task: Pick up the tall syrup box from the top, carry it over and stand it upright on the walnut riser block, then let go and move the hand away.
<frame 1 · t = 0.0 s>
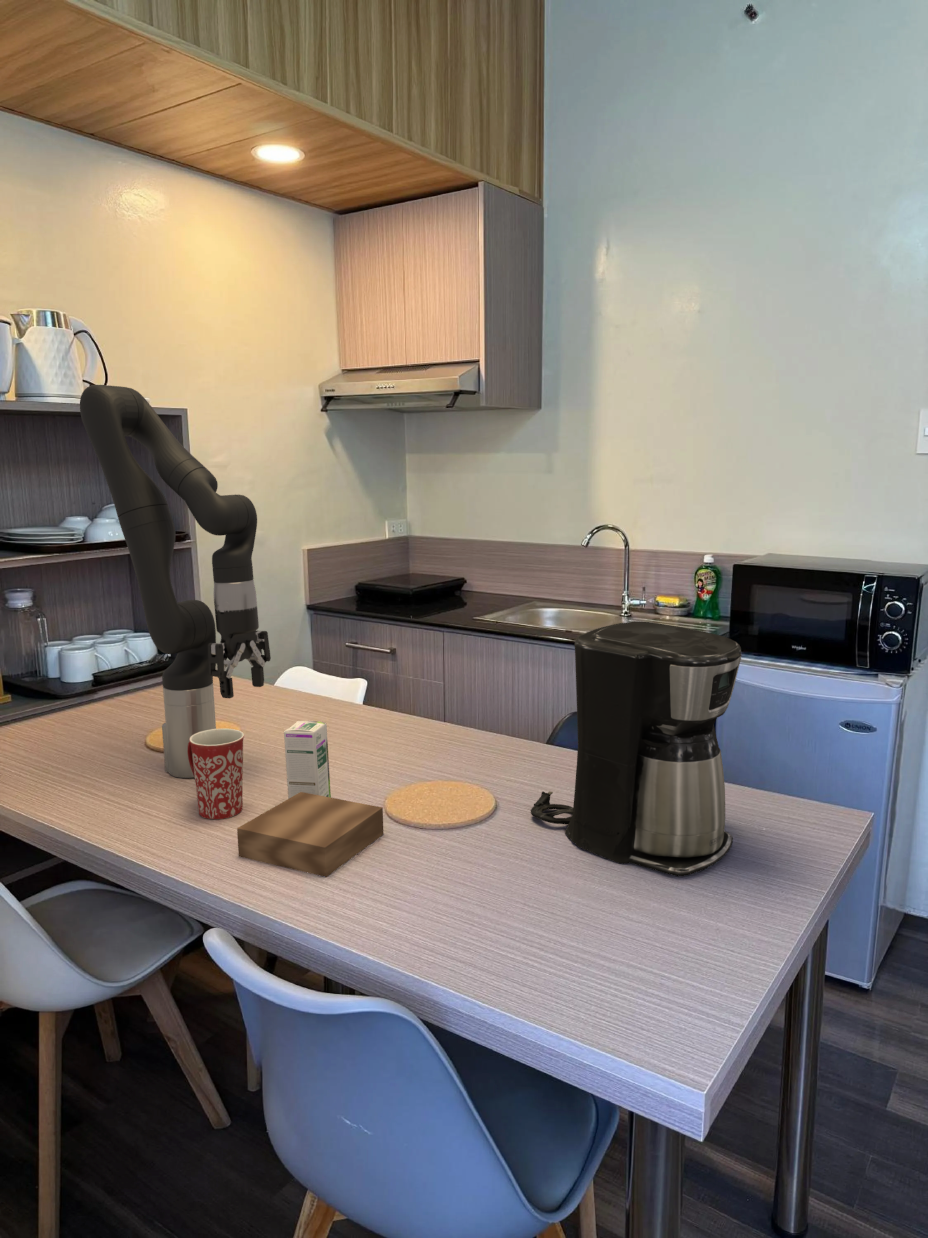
hand: (243, 692, 160), 17 cm above the table, tool pointing down, fingers open, 8 cm apart
coffee maker: (639, 833, 139), on the table
syrup box: (309, 806, 151), on the table
mug: (215, 809, 150), on the table
walnut riser: (313, 847, 135), on the table
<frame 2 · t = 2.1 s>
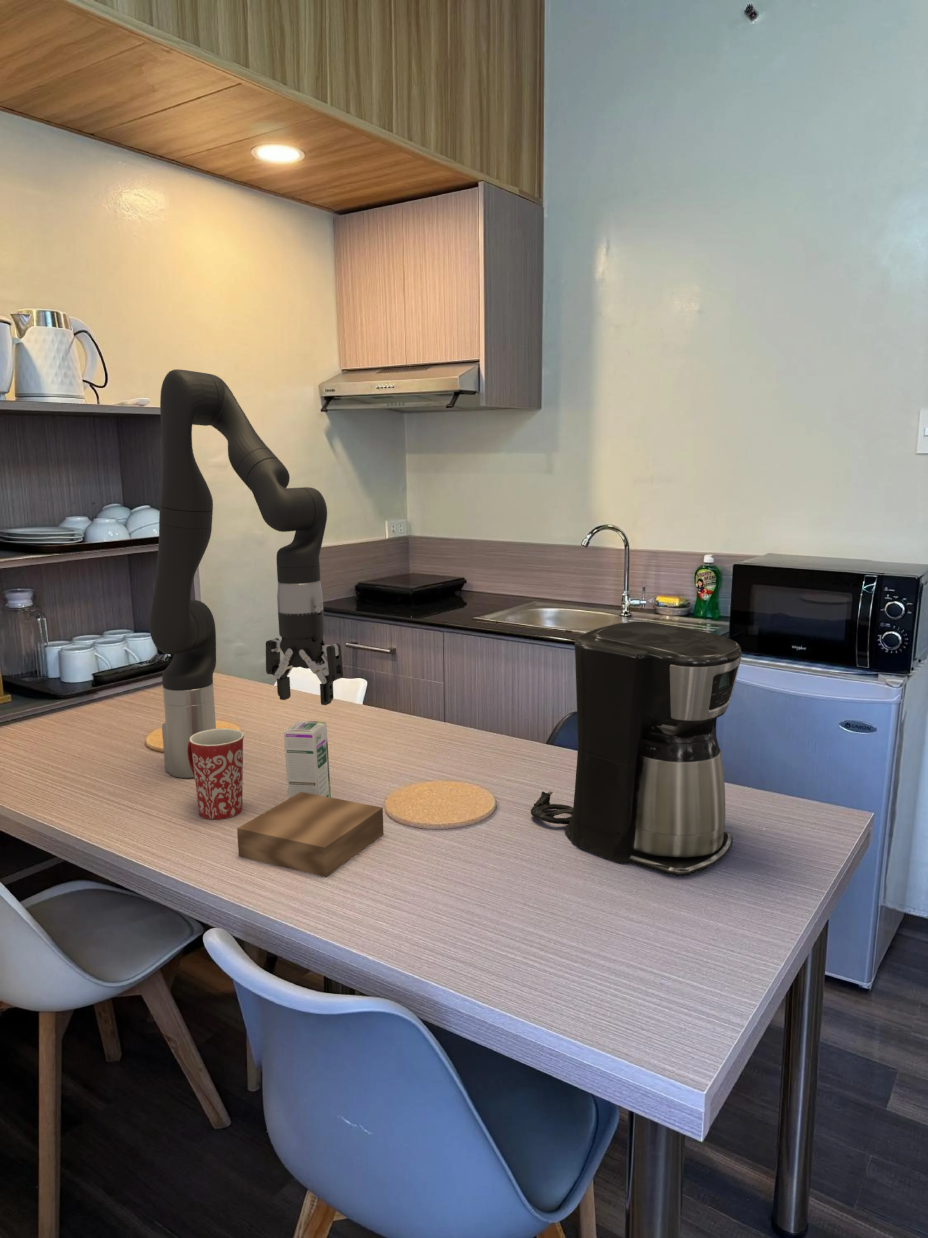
hand: (305, 701, 148), 19 cm above the table, tool pointing down, fingers open, 8 cm apart
nothing on the table moved.
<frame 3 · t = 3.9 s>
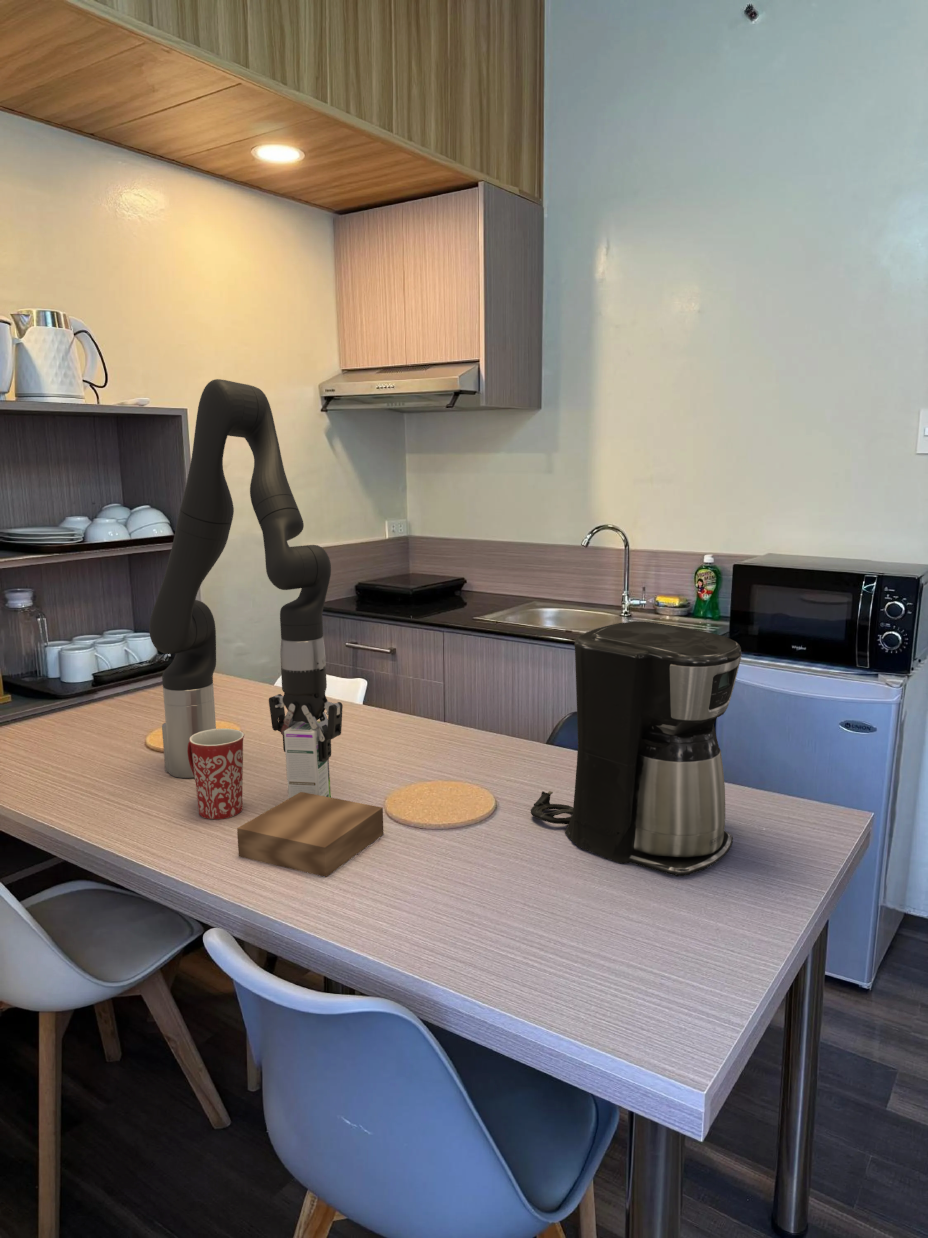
hand: (307, 757, 150), 9 cm above the table, tool pointing down, fingers closed on syrup box, 6 cm apart
syrup box: (309, 806, 151), on the table, touching gripper
everything else where it was.
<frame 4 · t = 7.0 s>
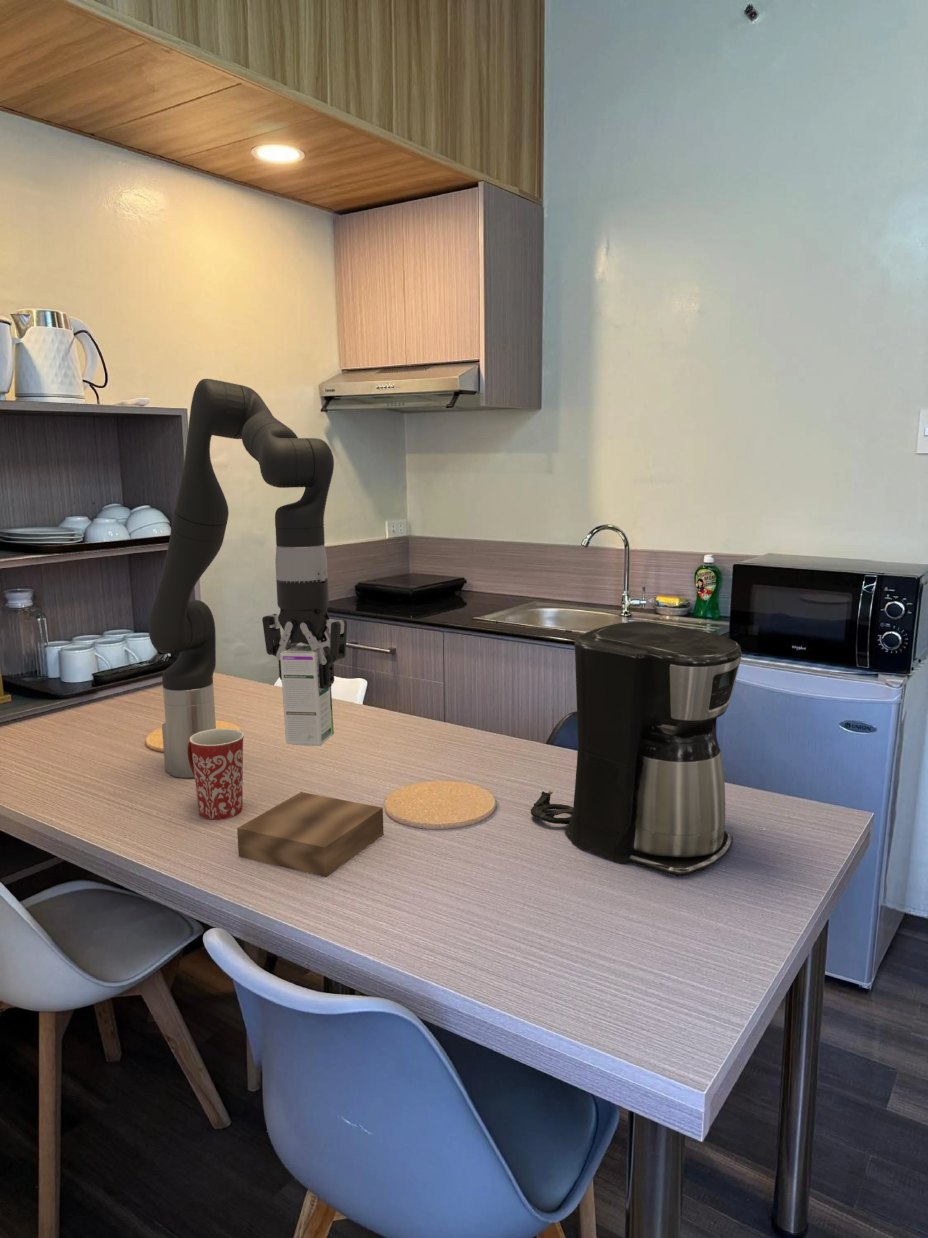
hand: (307, 684, 131), 26 cm above the table, tool pointing down, fingers closed on syrup box, 6 cm apart
syrup box: (309, 741, 132), point 17 cm above the table, touching gripper
everything else where it was.
when the fingers open (15 cm above the table, at t = 10.4 s): syrup box drops 2 cm, point 4 cm above the table.
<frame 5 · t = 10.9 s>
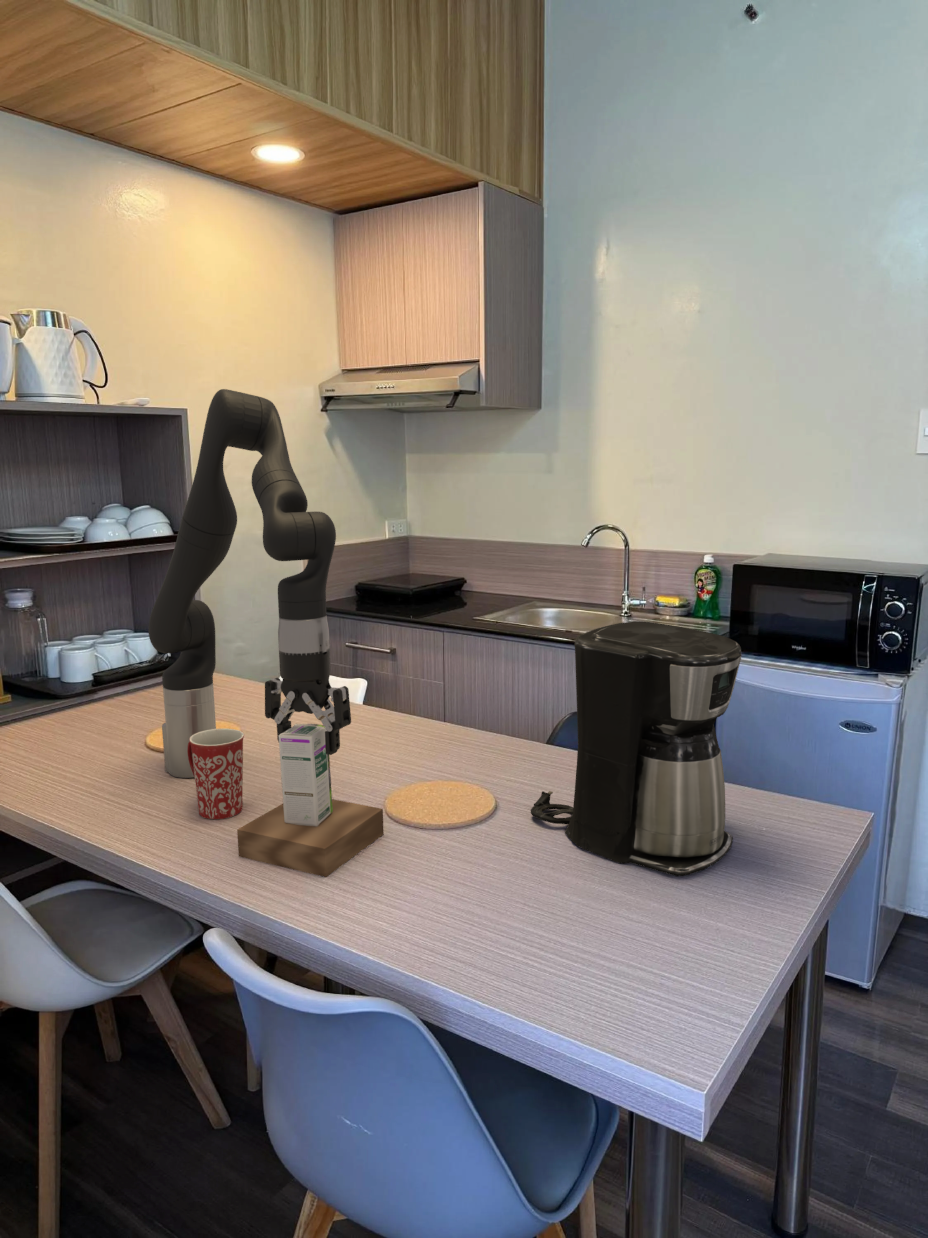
hand: (308, 749, 132), 16 cm above the table, tool pointing down, fingers open, 8 cm apart
syrup box: (308, 819, 135), point 4 cm above the table
everything else where it was.
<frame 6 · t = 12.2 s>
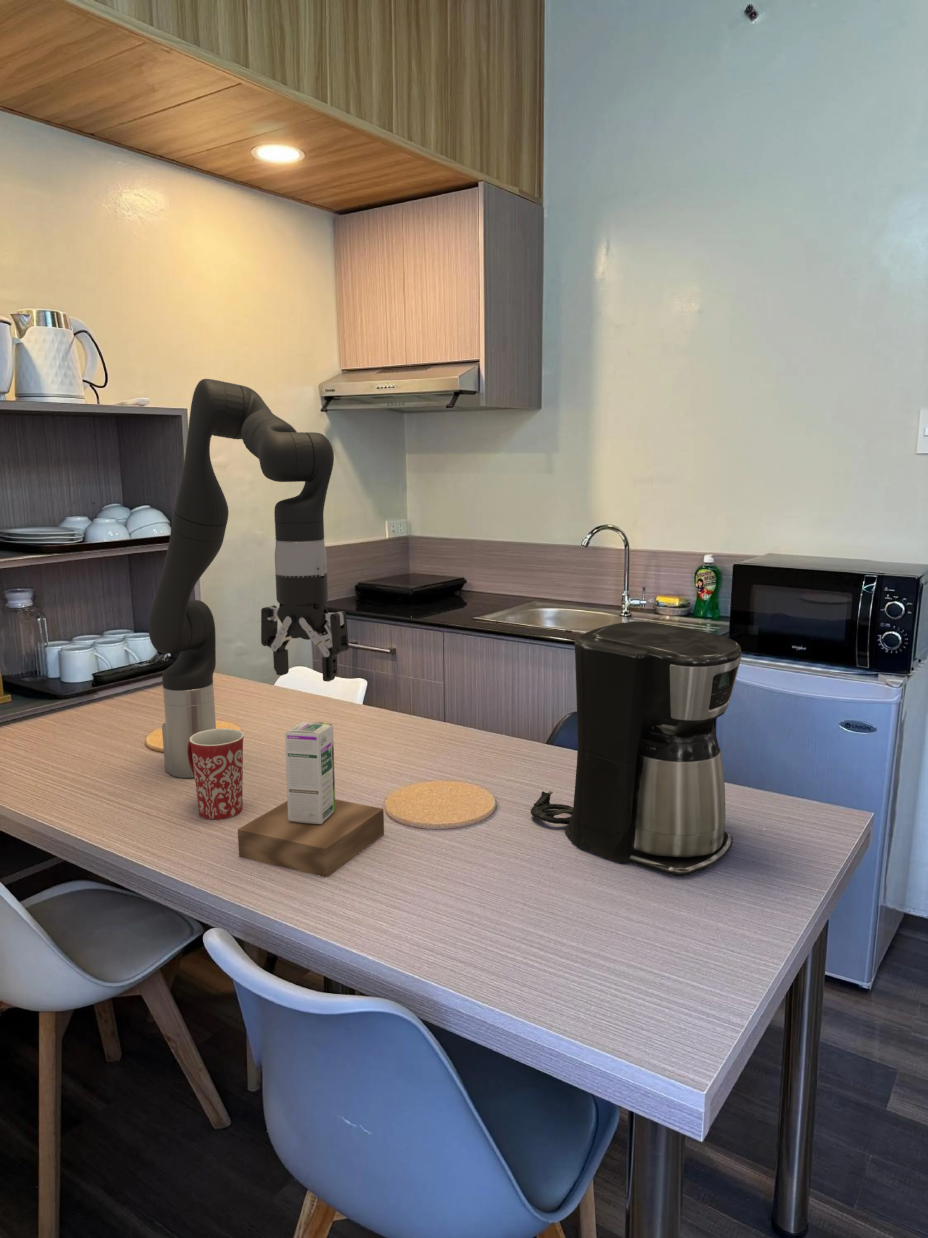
hand: (305, 677, 130), 27 cm above the table, tool pointing down, fingers open, 8 cm apart
syrup box: (311, 817, 135), point 4 cm above the table, touching walnut riser
walnut riser: (313, 848, 135), on the table, touching syrup box
everything else where it was.
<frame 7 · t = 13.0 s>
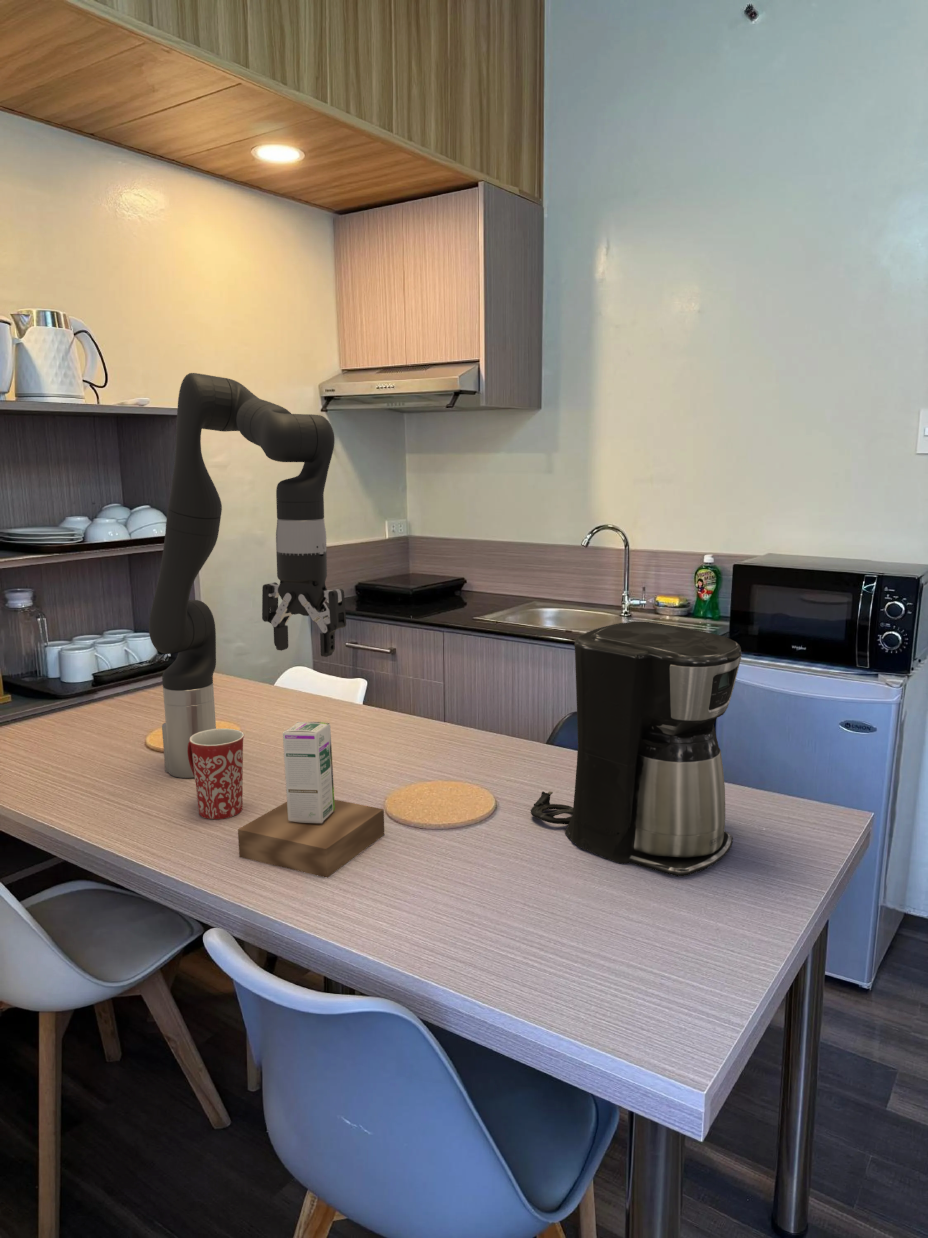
hand: (304, 652, 134), 30 cm above the table, tool pointing down, fingers open, 8 cm apart
syrup box: (311, 817, 135), point 4 cm above the table
walnut riser: (313, 849, 135), on the table
everything else where it was.
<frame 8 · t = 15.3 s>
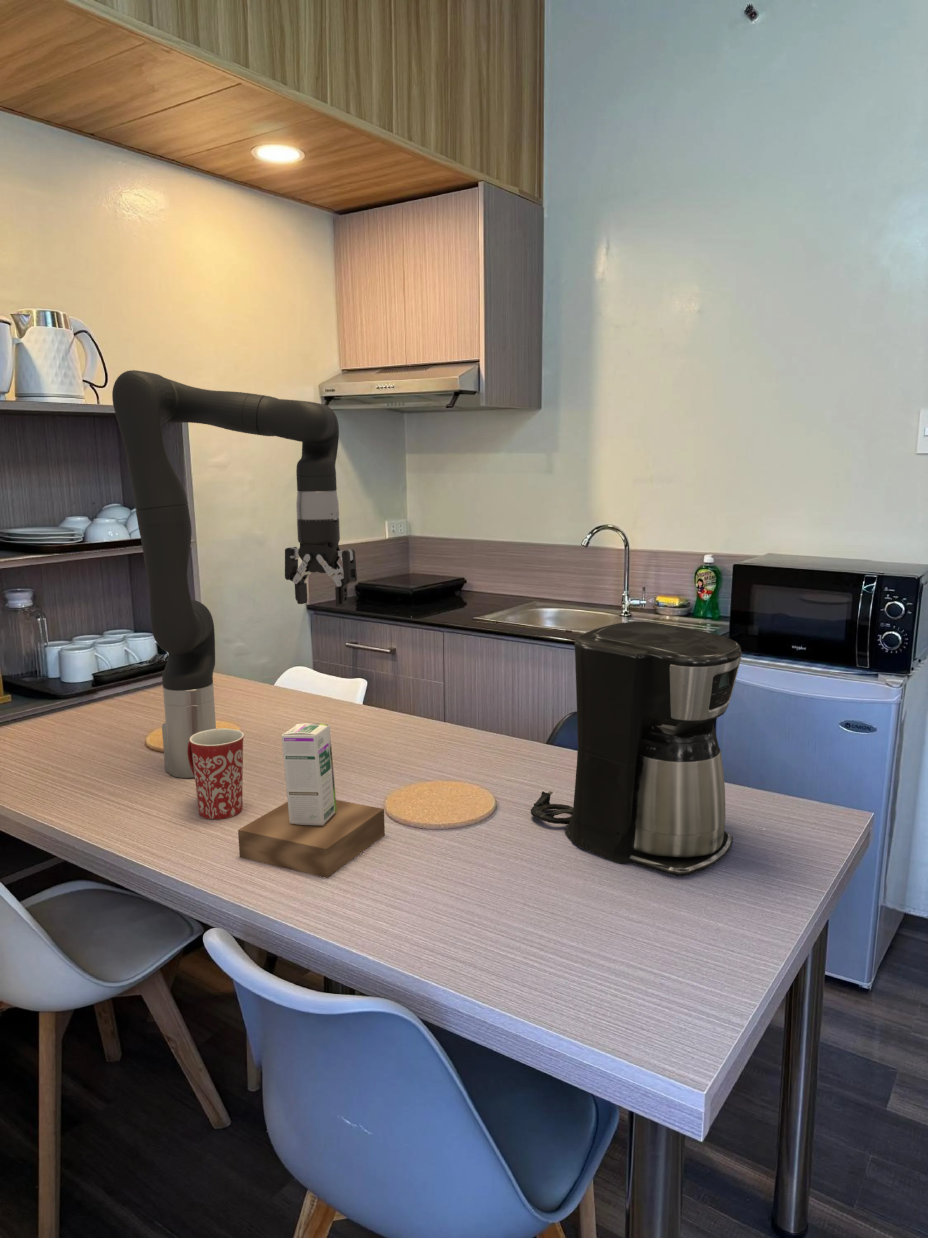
hand: (321, 605, 159), 33 cm above the table, tool pointing down, fingers open, 8 cm apart
at the end: syrup box inside the target area on the walnut riser (0.0 cm from its centre), point 5.0 cm above the walnut riser's base; syrup box tilted 3°; syrup box touching walnut riser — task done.
